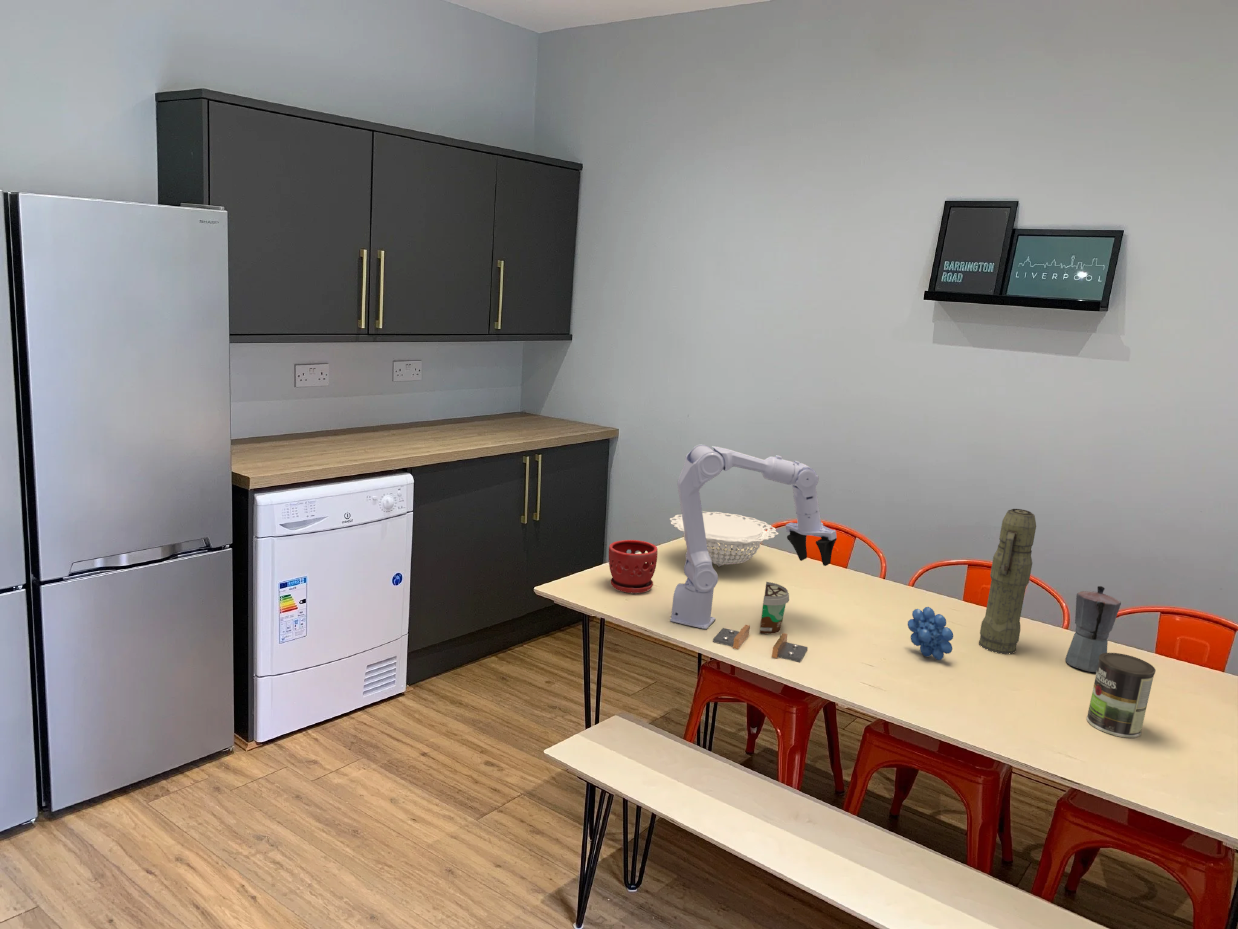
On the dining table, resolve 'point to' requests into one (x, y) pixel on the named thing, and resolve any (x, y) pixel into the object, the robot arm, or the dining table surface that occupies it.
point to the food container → (773, 608)
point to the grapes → (930, 633)
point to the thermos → (1008, 582)
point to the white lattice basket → (731, 535)
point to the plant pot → (632, 565)
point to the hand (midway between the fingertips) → (815, 561)
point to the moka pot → (1091, 628)
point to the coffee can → (1120, 694)
